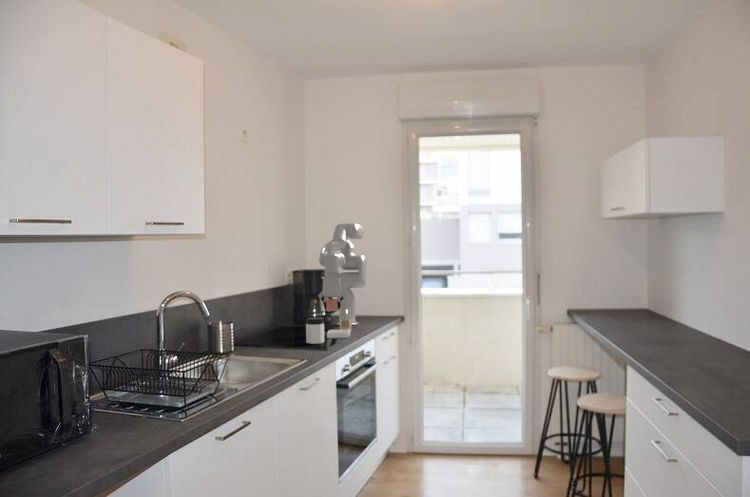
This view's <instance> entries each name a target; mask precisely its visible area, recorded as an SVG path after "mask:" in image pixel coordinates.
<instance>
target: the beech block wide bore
mask: <svg viewBox="0 0 750 497" xmlns="http://www.w3.org/2000/svg"><path fill="white" fill-rule="evenodd" d="M339 322H340V325H339V330H350V333H352V325H351V320H348V321H343V320H340V319H339Z"/></svg>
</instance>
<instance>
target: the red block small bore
mask: <svg viewBox="0 0 750 497" xmlns="http://www.w3.org/2000/svg"><path fill="white" fill-rule="evenodd" d="M338 311H339V309H338V299H337V298H327V300H326V312H338Z"/></svg>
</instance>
